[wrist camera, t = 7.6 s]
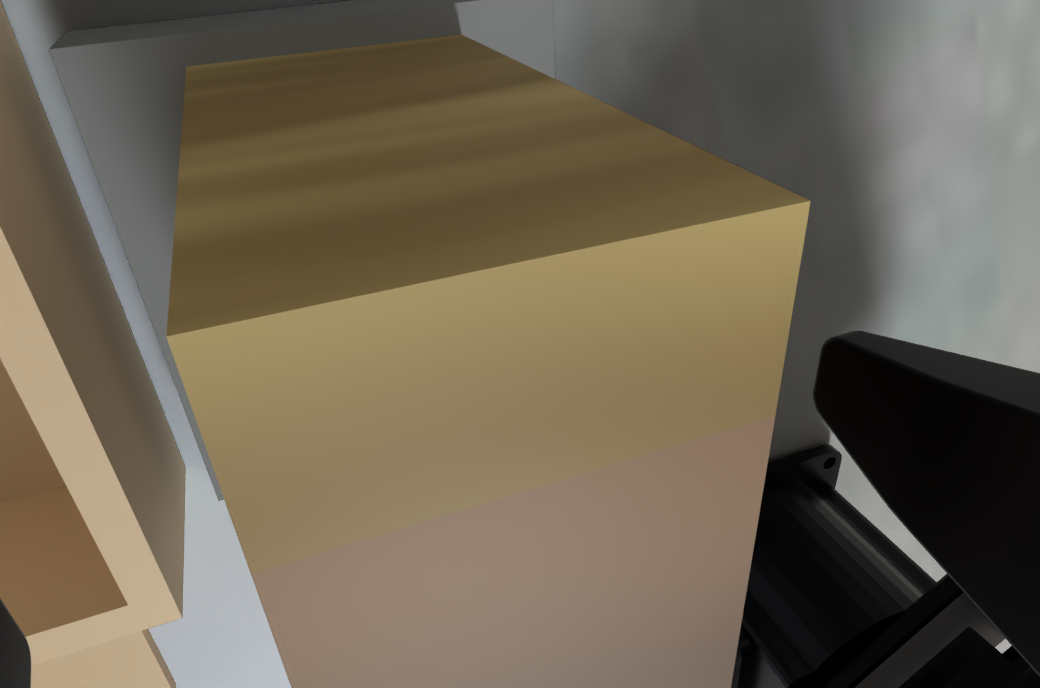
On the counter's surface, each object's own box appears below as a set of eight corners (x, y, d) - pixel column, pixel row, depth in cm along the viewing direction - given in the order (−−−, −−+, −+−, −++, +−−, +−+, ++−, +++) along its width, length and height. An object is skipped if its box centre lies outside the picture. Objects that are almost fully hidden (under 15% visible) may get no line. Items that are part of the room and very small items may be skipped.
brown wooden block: (186, 66, 11) (166, 337, 4) (461, 34, 13) (810, 200, 5) (295, 459, 16) (379, 931, 8) (494, 406, 17) (715, 778, 10)
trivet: (513, -17, 15) (552, -9, 13) (535, 361, 19) (566, 403, 18) (67, 30, 12) (48, 49, 11) (216, 445, 17) (218, 500, 16)
